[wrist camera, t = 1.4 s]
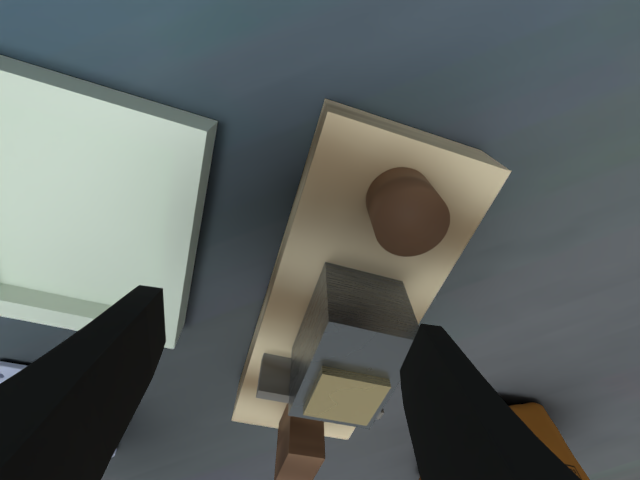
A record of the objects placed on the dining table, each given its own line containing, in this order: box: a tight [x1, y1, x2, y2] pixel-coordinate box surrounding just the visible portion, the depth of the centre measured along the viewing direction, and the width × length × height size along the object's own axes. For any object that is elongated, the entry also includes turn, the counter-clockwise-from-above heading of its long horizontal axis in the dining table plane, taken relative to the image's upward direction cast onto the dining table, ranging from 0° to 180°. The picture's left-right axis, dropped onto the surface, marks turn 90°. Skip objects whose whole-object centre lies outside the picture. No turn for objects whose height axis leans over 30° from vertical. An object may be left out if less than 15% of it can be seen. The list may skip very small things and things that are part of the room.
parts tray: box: [0, 55, 218, 349], centre depth 18 cm, size 13×11×2 cm
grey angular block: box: [288, 262, 419, 429], centre depth 17 cm, size 6×4×4 cm, turn 162°
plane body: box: [231, 98, 511, 480], centre depth 19 cm, size 20×8×7 cm, turn 162°
